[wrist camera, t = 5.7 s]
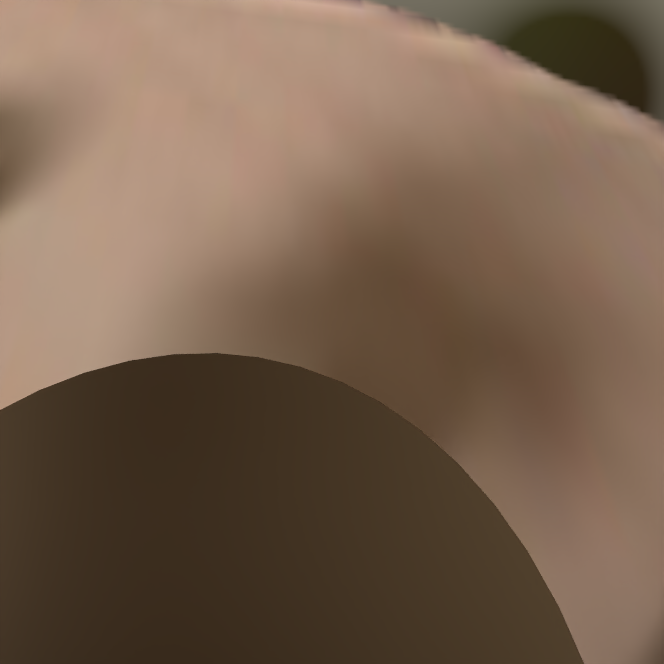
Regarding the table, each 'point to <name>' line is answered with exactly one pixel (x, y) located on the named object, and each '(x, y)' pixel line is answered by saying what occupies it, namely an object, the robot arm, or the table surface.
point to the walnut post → (251, 528)
